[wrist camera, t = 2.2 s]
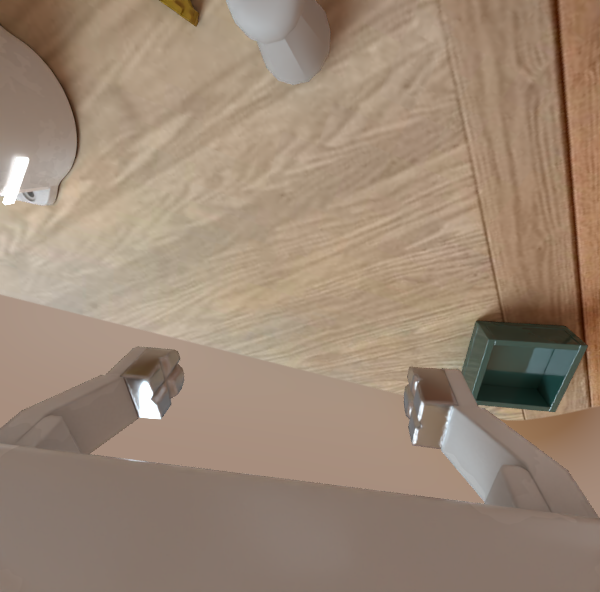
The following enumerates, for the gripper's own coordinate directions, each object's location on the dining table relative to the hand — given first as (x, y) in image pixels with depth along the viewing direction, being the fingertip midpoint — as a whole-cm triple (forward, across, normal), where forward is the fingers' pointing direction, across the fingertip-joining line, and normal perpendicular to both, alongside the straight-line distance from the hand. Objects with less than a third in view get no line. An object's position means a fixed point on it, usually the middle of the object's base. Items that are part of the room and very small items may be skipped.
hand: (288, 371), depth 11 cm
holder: (+25, -22, +17) cm, 37 cm away
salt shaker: (+25, +3, -14) cm, 29 cm away
